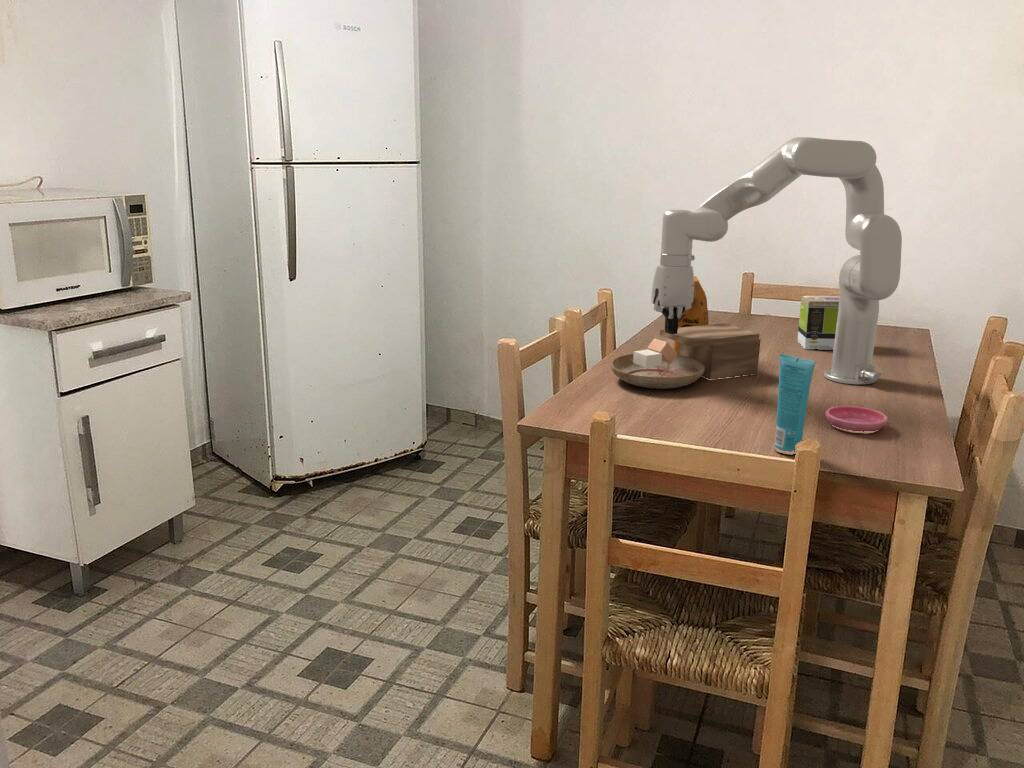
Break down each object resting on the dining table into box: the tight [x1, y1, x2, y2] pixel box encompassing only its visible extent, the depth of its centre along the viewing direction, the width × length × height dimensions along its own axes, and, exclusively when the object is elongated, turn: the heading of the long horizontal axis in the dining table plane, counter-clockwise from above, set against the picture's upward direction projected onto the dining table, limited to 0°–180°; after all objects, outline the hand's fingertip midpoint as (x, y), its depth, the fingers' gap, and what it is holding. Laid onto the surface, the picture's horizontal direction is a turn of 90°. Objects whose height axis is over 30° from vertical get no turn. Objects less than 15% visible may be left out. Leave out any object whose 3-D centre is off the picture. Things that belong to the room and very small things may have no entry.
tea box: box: [797, 295, 839, 351], centre depth 248 cm, size 15×10×15 cm
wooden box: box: [659, 322, 761, 379], centre depth 220 cm, size 14×22×11 cm, turn 114°
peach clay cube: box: [647, 338, 677, 363], centre depth 213 cm, size 5×5×3 cm
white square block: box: [633, 348, 662, 367], centre depth 210 cm, size 5×5×3 cm
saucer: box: [824, 405, 889, 432], centre depth 180 cm, size 12×12×3 cm
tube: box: [774, 353, 817, 452], centre depth 163 cm, size 7×5×19 cm, turn 47°
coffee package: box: [673, 275, 710, 355], centre depth 235 cm, size 10×12×22 cm
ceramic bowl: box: [610, 353, 704, 390], centre depth 212 cm, size 23×24×5 cm
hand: (671, 332), depth 213 cm, fingers closed
